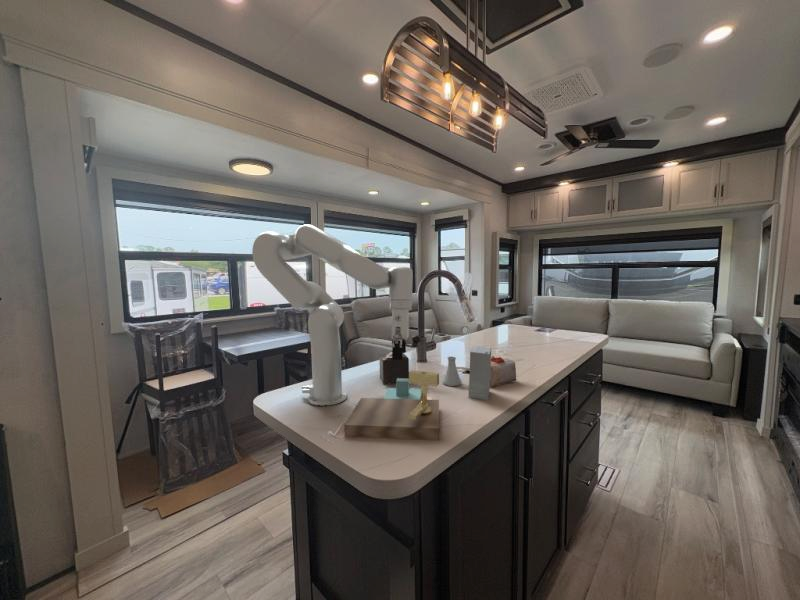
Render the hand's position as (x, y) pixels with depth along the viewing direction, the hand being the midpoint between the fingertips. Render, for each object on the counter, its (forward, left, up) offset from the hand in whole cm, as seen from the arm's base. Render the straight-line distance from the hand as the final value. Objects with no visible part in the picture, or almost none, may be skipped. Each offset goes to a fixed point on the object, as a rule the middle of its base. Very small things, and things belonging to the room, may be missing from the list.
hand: (399, 355), depth 104 cm
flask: (+18, +15, -14) cm, 28 cm away
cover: (+1, 0, -15) cm, 15 cm away
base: (+1, -18, -14) cm, 23 cm away
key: (+8, -21, -11) cm, 25 cm away
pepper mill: (-2, +19, -14) cm, 24 cm away
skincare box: (+27, +4, -14) cm, 31 cm away
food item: (+35, +17, -15) cm, 41 cm away
